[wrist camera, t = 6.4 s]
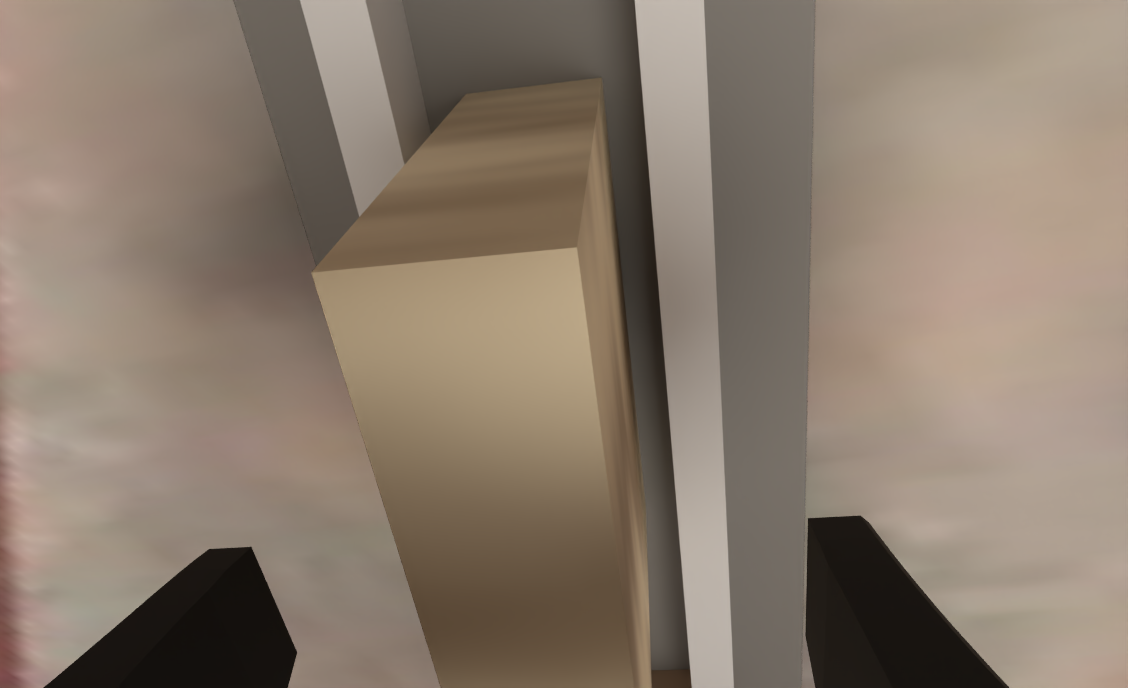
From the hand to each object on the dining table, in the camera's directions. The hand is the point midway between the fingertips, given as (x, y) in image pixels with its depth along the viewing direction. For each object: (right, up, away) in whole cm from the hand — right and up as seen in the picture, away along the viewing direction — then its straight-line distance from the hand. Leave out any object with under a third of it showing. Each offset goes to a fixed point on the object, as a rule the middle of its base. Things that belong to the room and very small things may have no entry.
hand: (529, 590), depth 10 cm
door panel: (+1, +4, +6) cm, 7 cm away
